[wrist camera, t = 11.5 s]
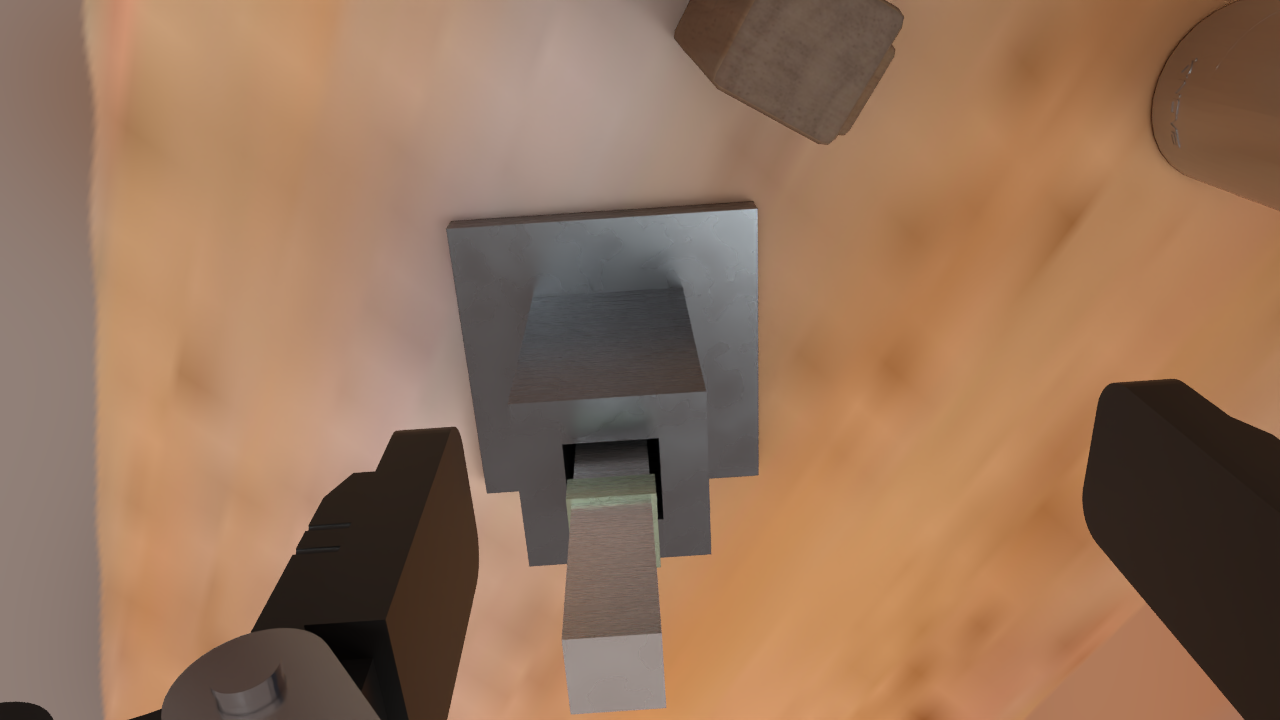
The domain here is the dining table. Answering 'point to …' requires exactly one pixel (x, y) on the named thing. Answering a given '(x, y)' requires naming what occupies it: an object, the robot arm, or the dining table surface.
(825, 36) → the wooden block
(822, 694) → the dining table surface
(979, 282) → the dining table surface
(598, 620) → the column
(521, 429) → the stand housing
